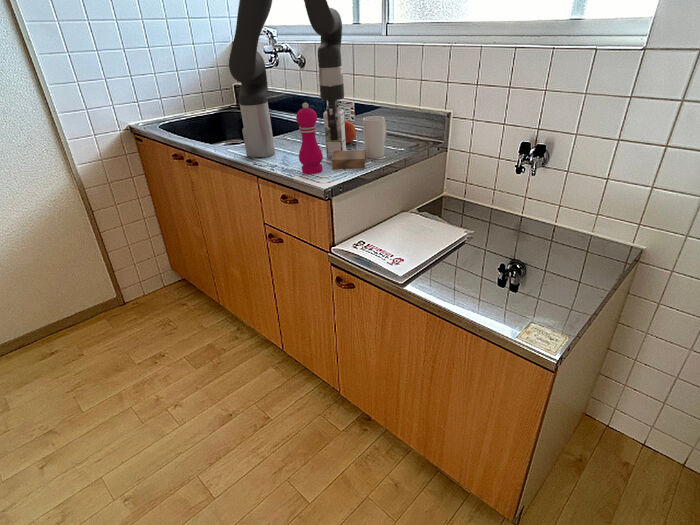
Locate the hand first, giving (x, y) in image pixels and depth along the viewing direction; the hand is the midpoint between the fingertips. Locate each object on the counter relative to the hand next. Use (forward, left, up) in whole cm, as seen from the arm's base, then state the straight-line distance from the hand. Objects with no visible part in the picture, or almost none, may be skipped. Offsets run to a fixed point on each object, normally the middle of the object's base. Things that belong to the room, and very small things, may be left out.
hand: (335, 137), depth 140 cm
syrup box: (0, 0, -6) cm, 6 cm away
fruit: (+2, +16, -6) cm, 17 cm away
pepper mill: (-6, -16, -6) cm, 18 cm away
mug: (+14, -1, -6) cm, 15 cm away
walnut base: (+5, -10, -6) cm, 13 cm away
